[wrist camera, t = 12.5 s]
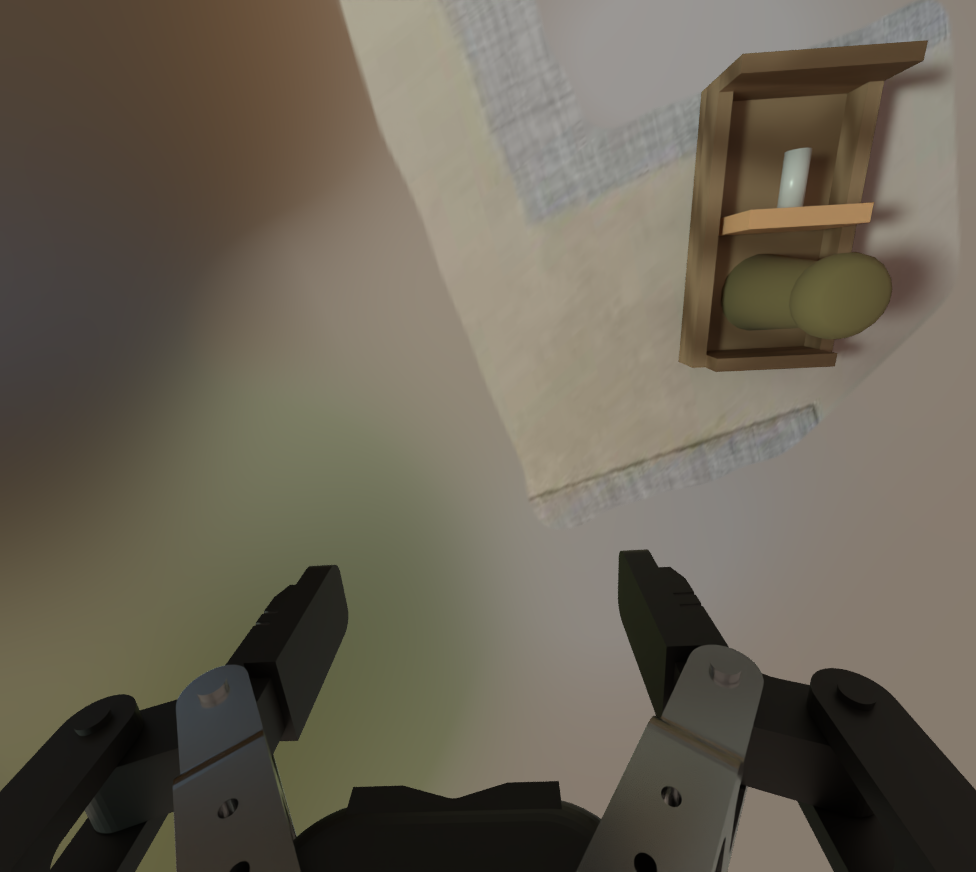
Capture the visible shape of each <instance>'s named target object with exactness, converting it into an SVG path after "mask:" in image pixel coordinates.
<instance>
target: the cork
mask: <svg viewBox="0 0 976 872" xmlns="http://www.w3.org/2000/svg"><path fill="white" fill-rule="evenodd" d="M891 292H892V283H891V277H890V275H889V273H888V271H887V270H886V268H885V266H884V265H883V264H882V263H881V262H880V261H878V260H877V259H876V258H875V257H871V256H868V255H865V254H861V253H858V252H851V253H838V254H834V255H831V256H828V257H826V258H823V259H821V260H819V261H814V260H807V259H801V258H795V257H788V256H782V255H775V254H757V255H754V256H752V257H749V258H747V259H744V260H743V261H742V262H741V263H739V264H738V265H737V266H735V267H734V268H733V270H732V271H731V272H730V274H729V275H728V276H727V278H726V280H725V283H724V285H723V287H722V291H721V306H722V310H723V313H724V315H725V316H726V318H727V320H728V321H729V322H730V323H731V324H733V325H734V326H736V327H737V328H740V329H744V330H747V331H751V330H772V329H793V328H800V329H802V330H803V331H804V332H806V333H807V334H809V335H811V336H815V337H818V338H822V339H827V340H828V339H842V338H847V337H850V336H853V335H856V334H858V333H860V332H862V331H863V330H865V329H866V328H868V327H869V326H871V325H872V324H873V323H875V322H876V321H877V320H878V318H879V317H880V316H881V315H882V314H883V313H884V311H885V309H886V307H887V305H888V303H889V302H890V297H891Z"/></svg>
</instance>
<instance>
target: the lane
mask: <svg viewBox="0 0 976 872" xmlns="http://www.w3.org/2000/svg"><path fill="white" fill-rule="evenodd" d="M927 42H928V40H927V41H913V42H899V43H885V44H872V45H858V46H844V47H831V48H817V49H803V50H789V51H776V52H763V53H749V54H742V55H741V56H740V57H739V58H738V59H737V60H736V61H735V62H734V63H732V64H731V65H730V66H729V67H728V68H727V69H726V70H725V71H724V72H723V73H722V74H721V75H720V76H719V77H717V78H716V79H715V80H714V81H713V82H712V83H711V84H710V85H709V86H708V87H707V88H706V89H704V90H703V91H702V93H701V105H700V117H699V129H698V140H697V152H696V164H695V176H694V188H693V200H692V212H691V223H690V235H689V247H688V259H687V271H686V283H685V294H684V306H683V318H682V330H681V342H680V354H679V362H681V363H683V364H685V365H688V366H690V367H692V368H697V367H706V368H708V369H711V370H713V371H715V372H722V371H744V370H766V369H787V368H809V367H830V366H835V363H836V358H837V353H834V352H832V349H833V344H834V339H828V340H827V339H822V338H818V337H815V336H811V335H809V334H807V333H806V332H804V331H803V330H802V329H800V328H793V329H772V330H751V331H747V330H744V329H740V328H737V327H736V326H734V325H733V324H731V323H730V322H729V321H728V320H727V318H726V316H725V315H724V313H723V310H722V306H721V291H722V287H723V285H724V283H725V280H726V278H727V276H728V275H729V274H730V272H731V271H732V270H733V268H734V267H735V266H737V265H738V264H739V263H741V262H742V261H743V260H744V259H747V258H749V257H752V256H754V255H757V254H775V255H782V256H788V257H795V258H801V259H807V260H814V261H819V260H821V259H823V258H826V257H828V256H831V255H834V254H838V253H851V251H852V245H853V240H854V235H855V230H856V225H857V224H856V225H849V226H843V227H836V228H830V229H824V230H813V231H796V232H778V233H761V234H744V235H726V236H719V226H720V218H723V217H727V216H731V215H734V214H738V213H741V212H745V211H748V210H756V209H773V208H777V204H778V197H779V189H780V182H781V175H782V168H783V161H784V154H785V152H787V151H790V150H794V149H799V148H812V154H811V160H810V166H809V173H808V179H807V186H806V192H805V198H804V205H803V207H806V206H823V205H840V204H856V203H861V199H862V194H863V188H864V183H865V178H866V173H867V168H868V162H869V157H870V152H871V147H872V142H873V137H874V131H875V126H876V121H877V116H878V111H879V105H880V100H881V95H882V90H883V85H884V81H885V80H887V79H889V78H891V77H893V76H894V75H896V74H898V73H900V72H902V71H904V70H906V69H908V68H910V67H912V66H914V65H916V64H918V63H920V62H921V61H923V60H924V56H925V51H926V47H927Z"/></svg>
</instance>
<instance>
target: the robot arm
mask: <svg viewBox="0 0 976 872" xmlns="http://www.w3.org/2000/svg"><path fill="white" fill-rule="evenodd" d="M618 604H619V611H620V616H621V620H622V623H623V625H624V628H625V631H626V634H627V637H628V639H629V642H630V645H631V648H632V650H633V653H634V656H635V659H636V661H637V664H638V667H639V670H640V672H641V675H642V678H643V681H644V683H645V686H646V689H647V692H648V694H649V697H650V700H651V703H652V705H653V708H654V711H655V714H656V716H653V717H652V718H651V719H650V721H649V722H648V724H647V727H646V728H645V730H644V733H643V734H642V737H641V739H640V741H639V743H638V745H637V747H636V749H635V751H634V753H633V755H632V757H631V759H630V762H629V763H628V765H627V767H626V770H625V772H624V774H623V776H622V778H621V780H620V782H619V784H618V786H617V789H616V790H615V792H614V794H613V796H612V798H611V800H610V803H609V805H608V807H607V809H606V811H605V813H604V815H603V817H602V819H600V818H599V817H598V816H596V815H594V814H592V813H591V812H589V811H587V810H585V809H584V808H581V807H579V806H577V805H574V804H572V803H568V802H565V801H561V797H560V788H559V782H558V781H549V782H514V783H505V784H502V785H498V786H495V787H492V788H489V789H486V790H482V791H479V792H476V793H473V794H469V795H466V796H463V797H460V798H453V799H452V798H446V797H443V796H439V795H435V794H432V793H428V792H424V791H421V790H417V789H413V788H410V787H406V786H375V787H353V790H352V793H351V797H350V800H349V804H348V807H347V808H344V809H341V810H339V811H336V812H334V813H332V814H330V815H328V816H326V817H324V818H323V819H321V820H319V821H317V822H316V823H314V824H313V825H311V826H310V827H309V828H307V829H306V830H304V831H303V832H302V833H301V834H300V835H299V836H296V833H295V829H294V826H293V822H292V819H291V816H290V812H289V808H288V805H287V801H286V798H285V794H284V790H283V787H282V783H281V779H280V776H279V772H278V769H277V765H276V762H275V759H274V755H273V753H274V751H275V749H276V747H277V745H278V743H279V741H298V739H299V737H300V735H301V732H302V730H303V728H304V726H305V723H306V721H307V719H308V717H309V714H310V712H311V710H312V707H313V705H314V703H315V701H316V698H317V696H318V694H319V692H320V689H321V687H322V685H323V683H324V680H325V678H326V676H327V673H328V671H329V669H330V667H331V664H332V662H333V660H334V658H335V655H336V653H337V651H338V648H339V646H340V644H341V642H342V639H343V637H344V635H345V632H346V629H347V624H348V608H347V603H346V598H345V594H344V589H343V584H342V579H341V575H340V570H339V568H338V566H337V565H322V566H309V567H308V568H307V569H306V571H305V572H304V574H303V575H302V576H301V578H300V580H299V581H298V582H297V584H296V585H289V586H288V587H287V588H285V589H284V590H283V591H282V592H280V593H279V594H278V595H277V596H275V597H274V598H273V600H272V601H271V602H270V604H269V605H268V606H267V608H266V609H265V611H264V614H262V615H261V616H260V618H259V619H258V621H257V622H256V626H253V627H252V629H251V630H250V632H249V633H248V634H247V636H246V637H245V639H244V640H243V641H242V643H241V644H240V646H239V647H238V648H237V650H236V651H235V652H234V654H233V655H232V657H231V658H230V659H229V661H228V663H227V664H226V665H225V666H221V667H217V668H214V669H212V670H210V671H208V672H206V673H204V674H202V675H201V676H199V677H197V678H196V679H195V680H193V681H192V682H191V683H190V684H189V685H188V686H187V687H186V688H185V689H184V690H183V691H182V693H181V694H180V696H179V698H178V699H177V700H174V701H171V702H167V703H164V704H160V705H157V706H154V707H150V708H147V709H143V710H139V708H138V706H137V703H136V701H135V699H134V698H133V697H132V696H129V695H125V694H122V695H114V696H110V697H106V698H104V699H101V700H98V701H96V702H94V703H92V704H90V705H88V706H86V707H85V708H83V709H82V710H80V711H79V712H77V713H76V714H74V715H73V716H72V717H71V718H69V719H68V720H67V721H66V722H65V723H64V724H63V725H62V726H61V727H60V728H59V729H58V730H57V731H56V732H55V733H54V734H53V735H52V736H51V738H50V739H49V740H48V741H47V742H46V743H45V744H44V745H43V746H42V747H41V748H40V749H39V750H38V752H37V753H36V754H35V755H34V756H33V757H32V758H31V759H30V760H29V761H28V762H27V763H26V764H25V766H24V767H23V768H22V769H21V770H20V771H19V772H18V773H17V774H16V775H15V776H14V777H13V779H12V780H11V781H10V782H9V783H8V784H7V785H6V786H5V787H4V788H3V789H2V790H1V792H0V872H135V871H136V869H137V867H138V866H139V864H140V862H141V860H142V859H143V857H144V855H145V854H146V852H147V850H148V848H149V847H150V845H151V843H152V841H153V839H154V838H155V836H156V834H157V833H158V831H159V829H160V827H161V826H162V824H163V822H164V820H165V818H166V817H167V815H168V813H171V812H174V828H175V848H176V869H177V872H728V867H729V863H730V859H731V854H732V850H733V846H734V842H735V837H736V834H737V830H738V825H739V821H740V817H741V813H742V809H743V804H744V800H745V796H746V792H747V788H748V787H752V788H755V789H759V790H762V791H765V792H769V793H772V794H776V795H780V796H782V797H786V798H790V799H793V800H796V801H798V803H799V805H800V807H801V809H802V811H803V813H804V815H805V817H806V818H807V821H808V823H809V824H810V827H811V828H812V830H813V832H814V834H815V836H816V838H817V840H818V842H819V844H820V846H821V848H822V850H823V852H824V853H825V855H826V857H827V859H828V861H829V863H830V865H831V867H832V869H833V871H834V872H976V790H975V789H974V788H973V787H972V785H971V784H970V783H969V782H968V781H967V780H966V779H965V778H964V776H963V775H962V774H961V773H960V772H959V771H958V770H957V768H956V767H955V766H954V765H953V764H952V763H951V761H950V760H949V759H948V758H947V757H946V756H945V755H944V754H943V752H942V751H941V750H940V749H939V748H938V747H937V746H936V744H935V743H934V742H933V741H932V740H931V739H930V738H929V736H928V735H927V734H926V733H925V732H924V731H923V730H922V728H921V727H920V726H919V725H918V724H917V723H916V722H915V721H914V720H913V718H912V717H911V716H910V715H909V714H908V713H907V711H906V710H905V709H904V708H903V707H902V706H901V705H900V703H899V702H898V701H897V700H896V699H895V698H894V697H893V696H892V695H891V694H890V693H889V692H888V691H887V690H886V689H884V688H883V687H882V686H880V685H879V684H877V683H876V682H874V681H872V680H870V679H869V678H866V677H864V676H862V675H860V674H857V673H854V672H851V671H848V670H843V669H836V668H835V669H834V668H828V669H822V670H819V671H817V672H816V673H815V674H814V675H813V676H812V678H811V682H810V685H806V684H801V683H797V682H791V681H787V680H782V679H778V678H774V677H770V676H767V675H765V674H762V673H761V671H760V670H759V668H758V667H757V665H756V664H755V663H754V662H753V661H752V660H750V658H748V657H747V656H745V655H744V654H742V653H740V652H739V651H736V650H734V649H732V648H729V647H728V645H727V644H726V642H725V640H724V639H723V637H722V636H721V634H720V632H719V631H718V629H717V628H716V626H715V625H714V623H713V621H712V620H711V618H710V617H709V615H708V613H707V612H706V610H705V609H704V607H703V606H701V603H700V601H699V599H698V598H697V596H696V595H694V591H693V590H692V588H691V587H690V585H689V583H688V582H687V580H686V579H685V578H684V577H683V576H681V575H680V574H679V573H677V572H676V571H675V570H673V569H672V568H671V567H659V568H658V566H657V564H656V562H655V561H654V559H653V557H652V555H651V553H650V552H649V550H629V551H620V553H619V573H618ZM84 810H85V812H86V814H87V816H88V818H87V819H86V821H85V822H84V824H83V825H82V827H81V828H80V829H79V831H78V832H77V833H76V835H75V836H74V838H73V839H72V840H71V842H70V843H69V844H68V846H67V847H66V849H65V850H64V851H63V853H62V854H61V856H60V857H59V858H58V860H57V861H56V863H55V864H54V865H53V867H52V868H51V870H50V865H51V862H52V859H53V856H54V854H55V852H56V850H57V848H58V846H59V844H60V843H61V841H62V840H63V839H64V837H65V836H66V835H67V833H68V832H69V830H70V829H71V828H72V826H73V825H74V824H75V822H76V821H77V820H78V818H79V817H80V815H81V814H82V813H83V811H84Z"/></svg>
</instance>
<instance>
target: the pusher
mask: <svg viewBox="0 0 976 872" xmlns="http://www.w3.org/2000/svg"><path fill="white" fill-rule="evenodd" d="M811 154H812V148H799V149H794V150H790V151H787V152H785V154H784V161H783V168H782V175H781V182H780V189H779V197H778V204H777V208H773V209H756V210H748V211H745V212H741V213H738V214H734V215H731V216H727V217H723V218H720V226H719V236H726V235H744V234H761V233H778V232H796V231H813V230H824V229H830V228H836V227H843V226H849V225H856V224H862V223H868V222H870V219H871V214H872V209H873V204H874V202H873V203H856V204H840V205H823V206H806V207H803V205H804V198H805V192H806V186H807V179H808V173H809V166H810V160H811Z"/></svg>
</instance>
